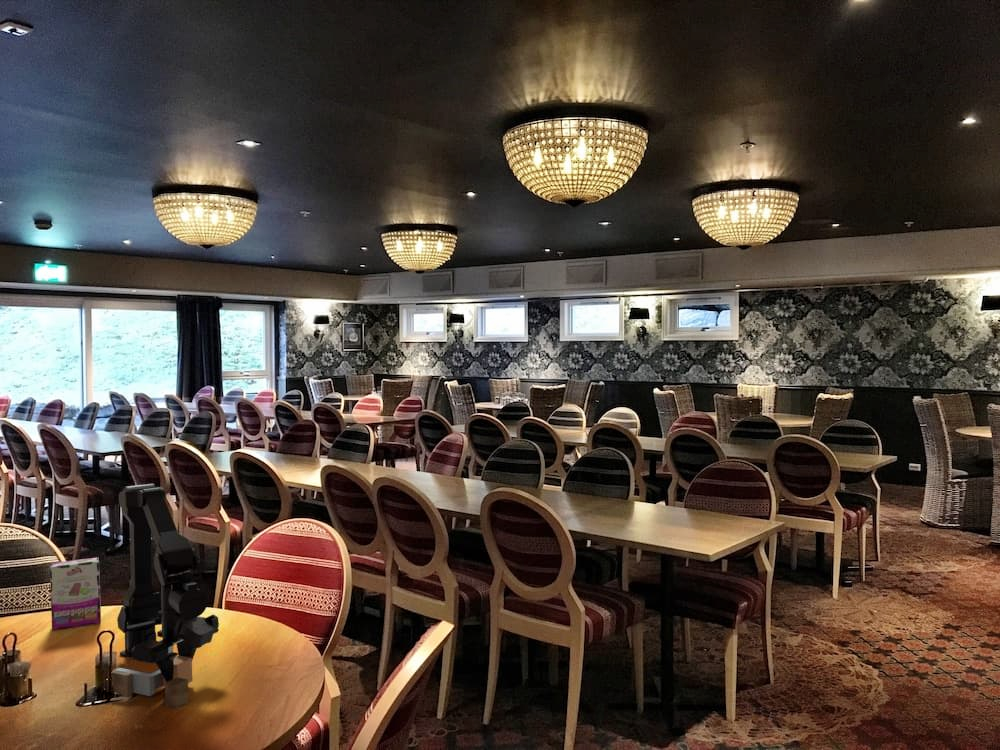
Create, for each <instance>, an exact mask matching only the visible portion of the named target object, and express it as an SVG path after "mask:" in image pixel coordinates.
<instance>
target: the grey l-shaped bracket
mask: <svg viewBox="0 0 1000 750" xmlns="http://www.w3.org/2000/svg"><path fill="white" fill-rule="evenodd" d="M115 670H118V671H123V672H128V673H132V694H137V695H143V696H147V697H151V696H154V695H155V691H156V690H158V689H160V688H161V687H164V686H163V675H162V673H161V671H160V669H159V668H158V670H156V671H153V672H151V673H147V672H143V671H138V670H137V671H136V670H133V669H128V668H122V667H118V668H115Z"/></svg>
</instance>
